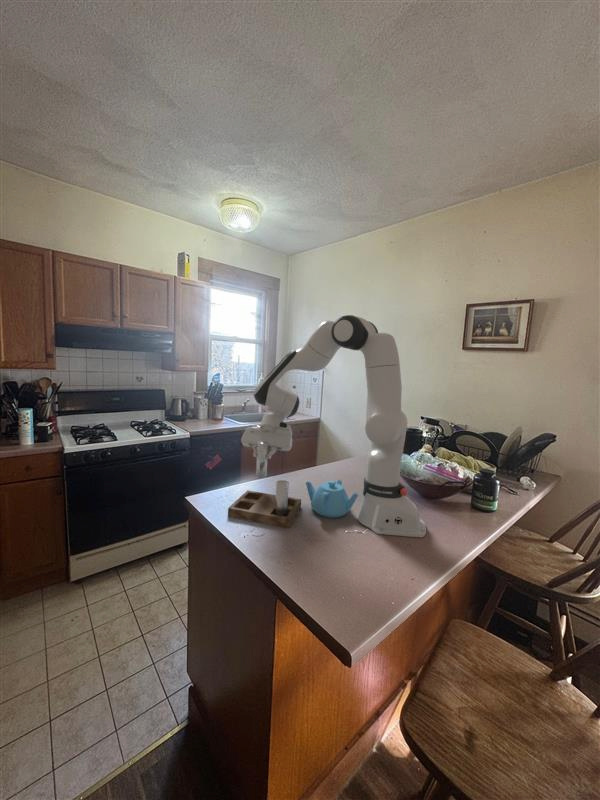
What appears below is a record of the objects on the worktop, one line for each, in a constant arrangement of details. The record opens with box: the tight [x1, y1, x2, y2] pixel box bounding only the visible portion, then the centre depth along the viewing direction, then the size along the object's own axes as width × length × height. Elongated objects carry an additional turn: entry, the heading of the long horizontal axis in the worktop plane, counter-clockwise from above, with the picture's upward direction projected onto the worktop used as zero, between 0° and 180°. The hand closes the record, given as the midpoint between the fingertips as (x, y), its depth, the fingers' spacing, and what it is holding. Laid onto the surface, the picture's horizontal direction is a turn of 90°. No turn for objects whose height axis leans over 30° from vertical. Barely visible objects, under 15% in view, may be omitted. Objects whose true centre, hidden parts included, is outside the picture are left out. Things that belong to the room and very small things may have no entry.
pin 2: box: [275, 479, 290, 517], centre depth 105 cm, size 4×4×13 cm
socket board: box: [227, 489, 302, 529], centre depth 111 cm, size 21×16×3 cm
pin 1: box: [255, 442, 269, 479], centre depth 123 cm, size 4×4×13 cm
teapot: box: [305, 479, 359, 519], centre depth 116 cm, size 15×15×11 cm
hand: (261, 457), depth 122 cm, fingers closed on pin 1, 4 cm apart
